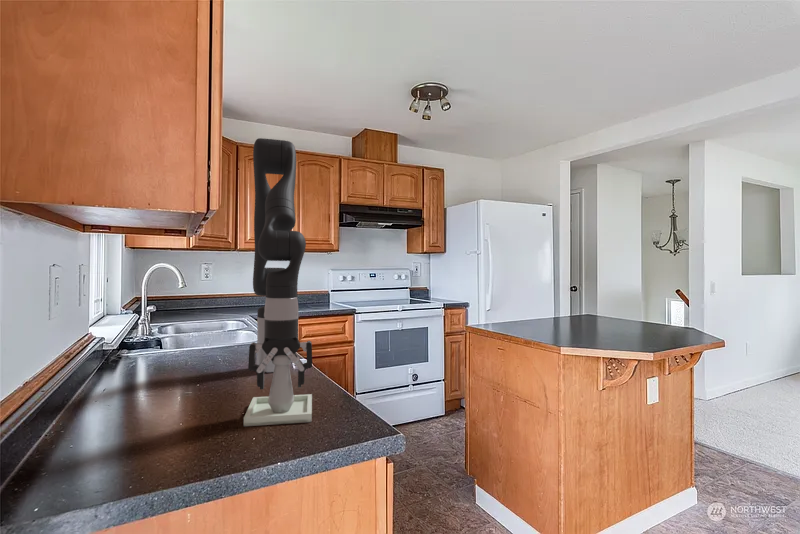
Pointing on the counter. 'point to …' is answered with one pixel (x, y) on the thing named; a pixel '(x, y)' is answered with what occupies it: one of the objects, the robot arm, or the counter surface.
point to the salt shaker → (281, 386)
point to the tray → (264, 415)
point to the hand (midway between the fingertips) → (280, 387)
